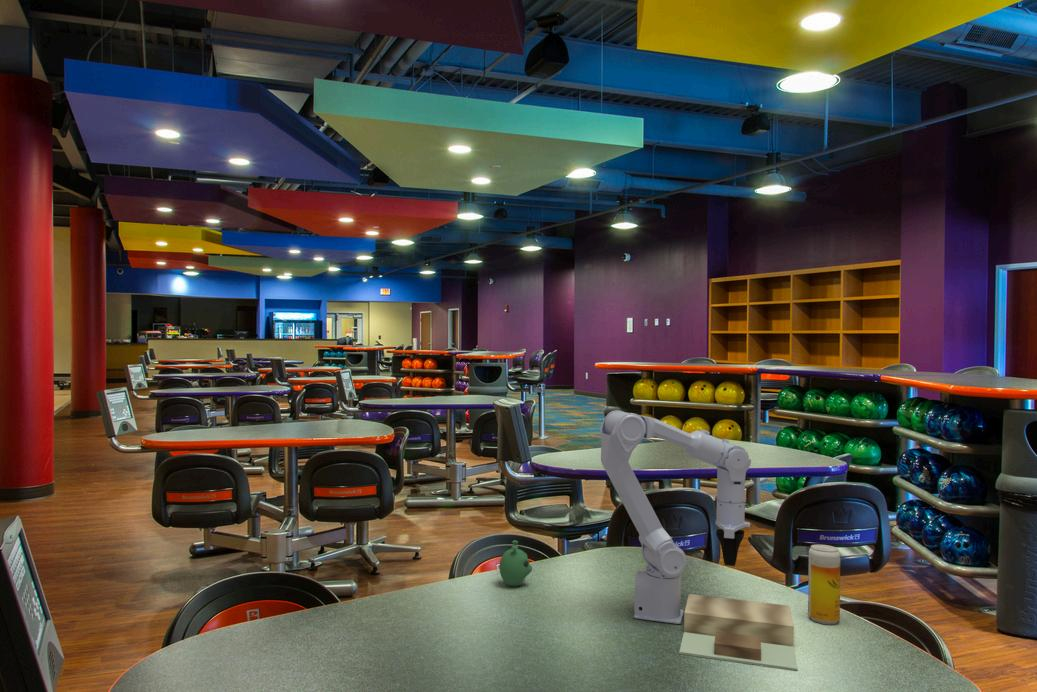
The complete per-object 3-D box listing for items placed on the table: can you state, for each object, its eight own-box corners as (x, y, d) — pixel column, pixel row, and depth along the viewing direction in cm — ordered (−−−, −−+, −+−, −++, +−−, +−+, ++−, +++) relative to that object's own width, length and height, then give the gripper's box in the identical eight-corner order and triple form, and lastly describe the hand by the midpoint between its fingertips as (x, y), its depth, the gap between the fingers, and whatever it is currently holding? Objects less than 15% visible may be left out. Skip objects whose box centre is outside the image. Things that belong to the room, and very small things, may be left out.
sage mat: (679, 654, 128) (679, 651, 128) (683, 634, 137) (683, 632, 137) (797, 671, 121) (797, 668, 121) (793, 648, 131) (793, 646, 131)
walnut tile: (715, 631, 133) (715, 642, 133) (714, 643, 127) (714, 654, 127) (760, 637, 130) (760, 648, 130) (761, 649, 124) (761, 661, 124)
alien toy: (532, 590, 162) (532, 546, 162) (498, 589, 162) (499, 546, 162) (531, 581, 169) (532, 539, 169) (499, 580, 169) (500, 538, 169)
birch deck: (684, 633, 138) (684, 612, 138) (688, 612, 149) (689, 593, 149) (793, 647, 131) (793, 626, 132) (789, 625, 143) (789, 605, 143)
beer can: (843, 626, 143) (843, 552, 143) (811, 623, 144) (812, 550, 144) (835, 616, 149) (836, 545, 149) (805, 613, 150) (806, 543, 150)
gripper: (750, 508, 142) (749, 576, 142) (750, 496, 156) (749, 558, 155) (714, 505, 144) (713, 572, 144) (717, 493, 158) (716, 554, 158)
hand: (729, 564), depth 150 cm, fingers closed
